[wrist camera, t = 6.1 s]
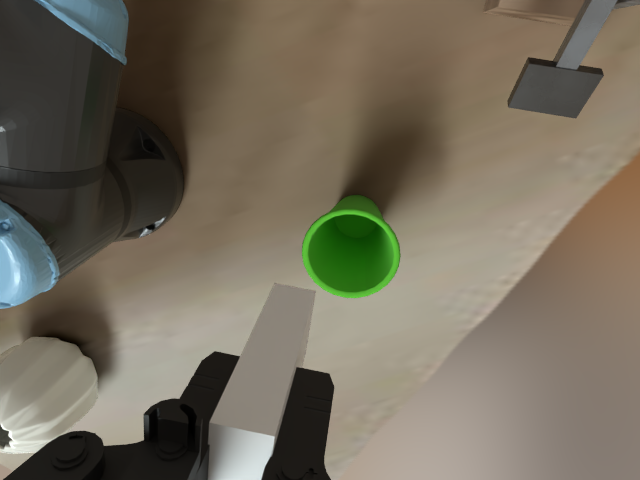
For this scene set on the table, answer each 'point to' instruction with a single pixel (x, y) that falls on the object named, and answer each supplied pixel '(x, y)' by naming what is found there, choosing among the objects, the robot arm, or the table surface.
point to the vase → (43, 392)
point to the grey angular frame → (544, 9)
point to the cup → (351, 249)
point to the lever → (564, 69)
